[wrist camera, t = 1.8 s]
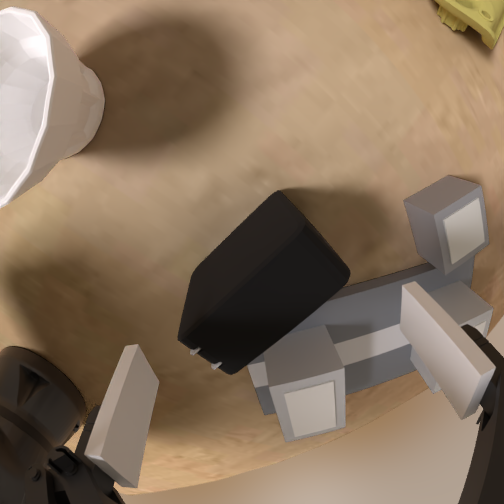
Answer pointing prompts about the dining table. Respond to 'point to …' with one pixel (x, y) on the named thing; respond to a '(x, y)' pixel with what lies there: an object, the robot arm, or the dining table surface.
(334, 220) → the dining table surface
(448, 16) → the plastic component
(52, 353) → the dining table surface
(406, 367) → the board
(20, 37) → the cup
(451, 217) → the module
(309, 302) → the electronic device
